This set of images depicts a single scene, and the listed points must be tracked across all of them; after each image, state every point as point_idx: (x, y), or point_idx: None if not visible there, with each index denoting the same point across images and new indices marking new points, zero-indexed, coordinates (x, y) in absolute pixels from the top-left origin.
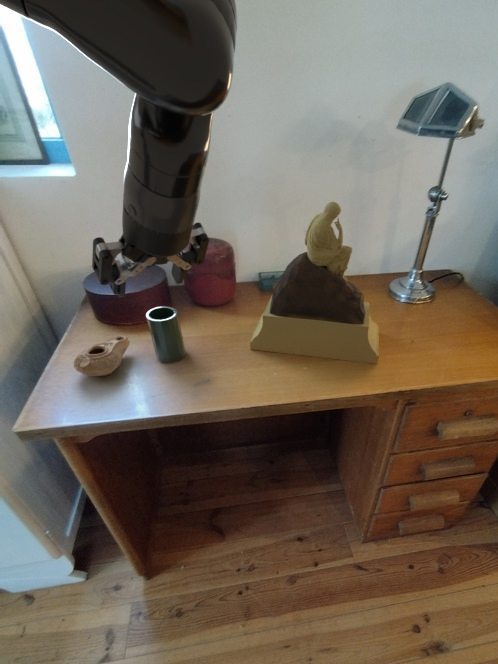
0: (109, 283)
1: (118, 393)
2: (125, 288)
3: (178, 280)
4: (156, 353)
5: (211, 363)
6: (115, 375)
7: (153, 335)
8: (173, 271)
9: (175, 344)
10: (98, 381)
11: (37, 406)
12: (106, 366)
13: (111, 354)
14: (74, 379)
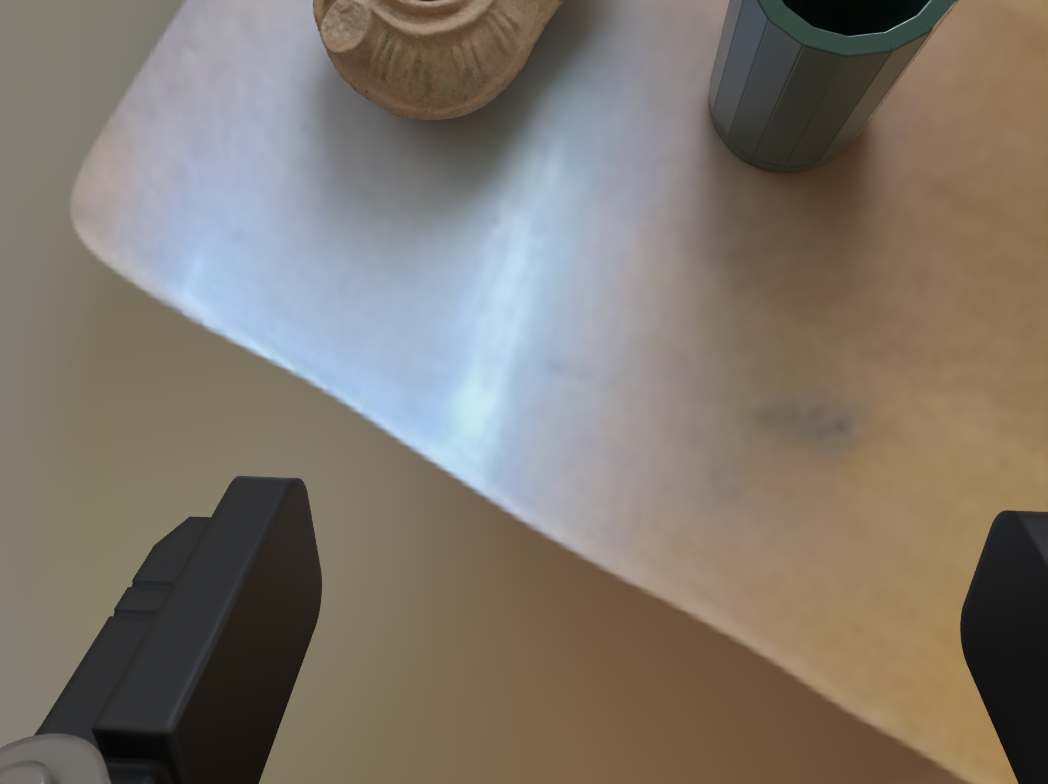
0: (141, 574)
1: (435, 241)
2: (266, 760)
3: (990, 710)
4: (712, 81)
5: (932, 302)
6: None
7: (732, 41)
8: (1029, 598)
9: (820, 134)
10: None
11: (137, 115)
12: (430, 95)
13: (482, 27)
14: None
